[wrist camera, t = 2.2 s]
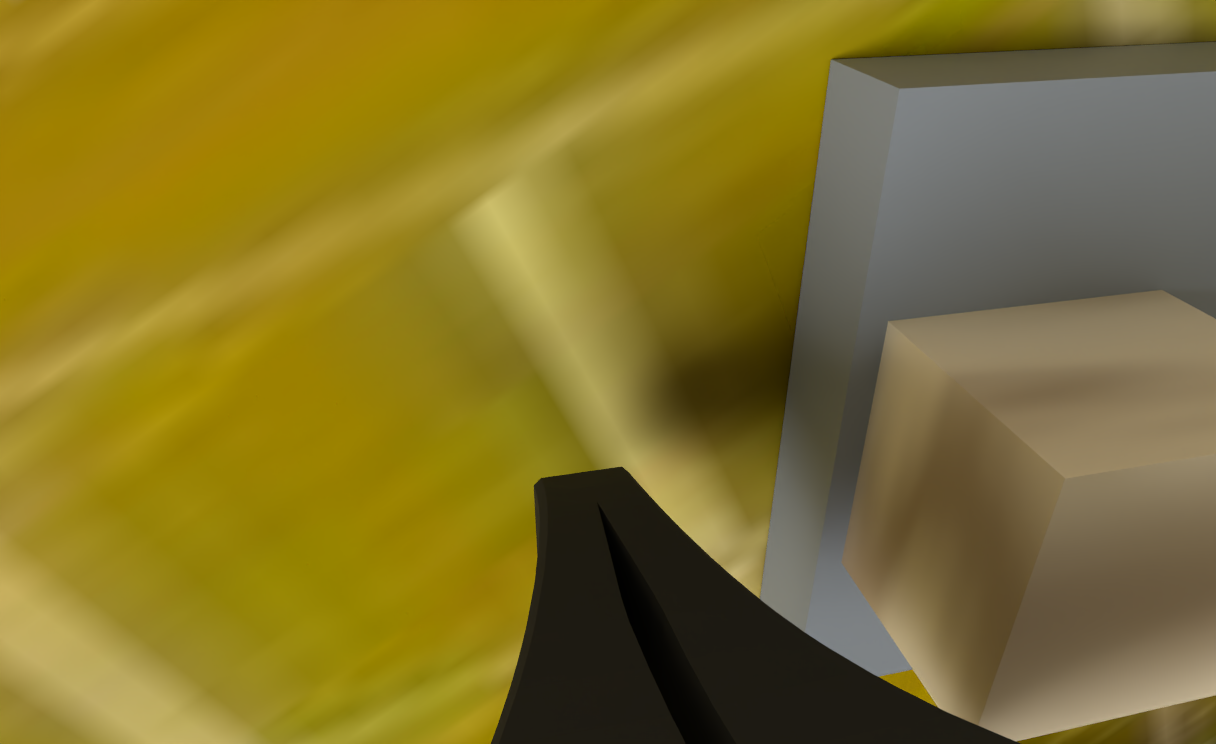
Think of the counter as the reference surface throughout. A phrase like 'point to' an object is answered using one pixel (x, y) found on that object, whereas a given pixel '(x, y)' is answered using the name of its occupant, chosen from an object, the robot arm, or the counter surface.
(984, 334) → the maple block
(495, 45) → the counter surface
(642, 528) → the robot arm
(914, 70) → the plate
